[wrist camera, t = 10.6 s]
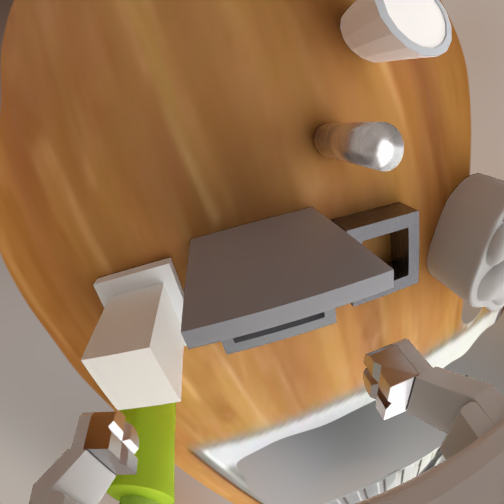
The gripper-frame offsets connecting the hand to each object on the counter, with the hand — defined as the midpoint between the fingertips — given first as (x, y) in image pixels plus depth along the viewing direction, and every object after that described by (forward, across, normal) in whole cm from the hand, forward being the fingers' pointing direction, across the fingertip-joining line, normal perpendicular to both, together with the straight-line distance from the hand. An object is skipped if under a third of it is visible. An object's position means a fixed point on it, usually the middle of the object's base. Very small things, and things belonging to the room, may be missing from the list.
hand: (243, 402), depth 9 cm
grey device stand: (+16, -3, +6) cm, 18 cm away
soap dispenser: (+16, +12, +16) cm, 26 cm away
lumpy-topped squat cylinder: (+17, -26, +6) cm, 32 cm away
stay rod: (+16, -10, -5) cm, 20 cm away
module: (+15, +8, +5) cm, 18 cm away
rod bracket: (+16, -13, +5) cm, 21 cm away
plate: (+16, +8, +5) cm, 19 cm away
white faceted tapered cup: (+17, -16, -14) cm, 27 cm away
